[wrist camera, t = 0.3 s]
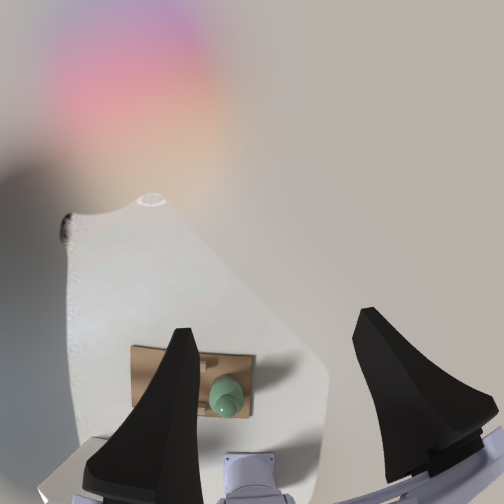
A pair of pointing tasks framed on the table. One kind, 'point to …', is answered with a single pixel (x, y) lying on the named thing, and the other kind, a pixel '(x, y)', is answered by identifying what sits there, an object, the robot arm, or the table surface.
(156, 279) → the table surface
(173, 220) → the table surface
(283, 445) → the table surface
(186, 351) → the robot arm
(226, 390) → the bottle
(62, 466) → the milk
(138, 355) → the rest board
